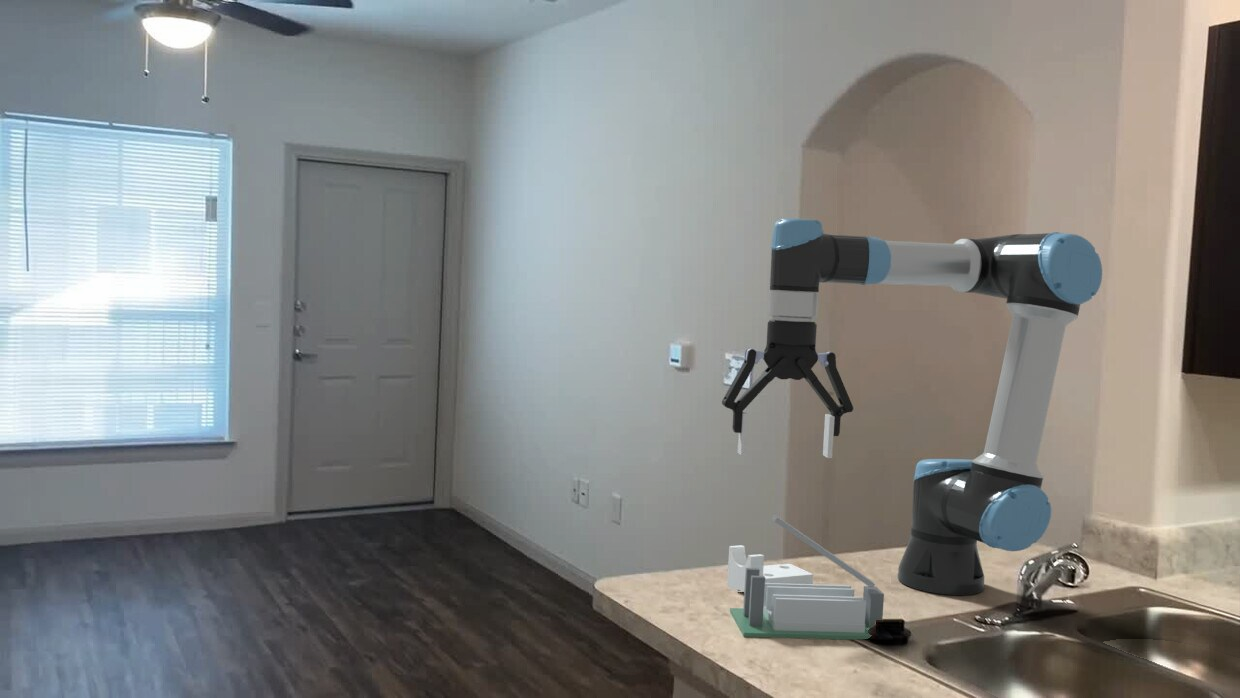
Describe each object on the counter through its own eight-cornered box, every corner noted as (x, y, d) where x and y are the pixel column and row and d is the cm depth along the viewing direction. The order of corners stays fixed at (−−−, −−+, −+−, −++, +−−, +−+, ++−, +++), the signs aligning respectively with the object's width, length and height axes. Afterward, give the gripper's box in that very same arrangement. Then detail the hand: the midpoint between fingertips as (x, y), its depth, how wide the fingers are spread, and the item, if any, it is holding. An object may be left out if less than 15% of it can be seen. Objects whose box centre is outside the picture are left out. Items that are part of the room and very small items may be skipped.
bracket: (748, 600, 181) (751, 556, 180) (726, 588, 187) (729, 546, 186) (812, 594, 186) (814, 551, 186) (788, 582, 193) (791, 541, 192)
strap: (868, 584, 169) (870, 580, 169) (872, 588, 167) (875, 584, 167) (771, 518, 167) (774, 514, 167) (774, 521, 165) (777, 517, 165)
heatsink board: (869, 615, 175) (872, 566, 174) (893, 640, 163) (896, 587, 162) (729, 611, 173) (732, 561, 172) (743, 636, 161) (746, 583, 161)
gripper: (863, 321, 170) (855, 453, 172) (708, 314, 168) (701, 448, 170) (878, 323, 163) (870, 461, 164) (716, 316, 161) (709, 456, 162)
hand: (784, 455), depth 167 cm, fingers open, 13 cm apart
